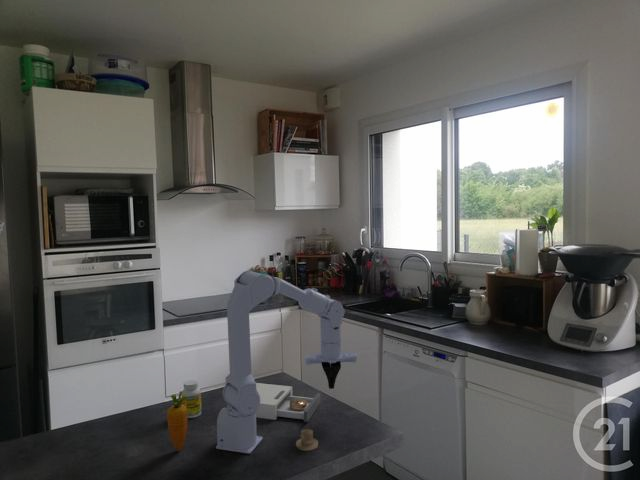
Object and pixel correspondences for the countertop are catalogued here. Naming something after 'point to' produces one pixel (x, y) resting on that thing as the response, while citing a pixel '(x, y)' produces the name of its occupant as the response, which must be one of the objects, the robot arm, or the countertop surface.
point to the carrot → (177, 421)
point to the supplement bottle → (192, 398)
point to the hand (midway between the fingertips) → (331, 387)
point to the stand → (307, 441)
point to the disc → (298, 405)
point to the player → (270, 399)
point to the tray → (306, 414)
